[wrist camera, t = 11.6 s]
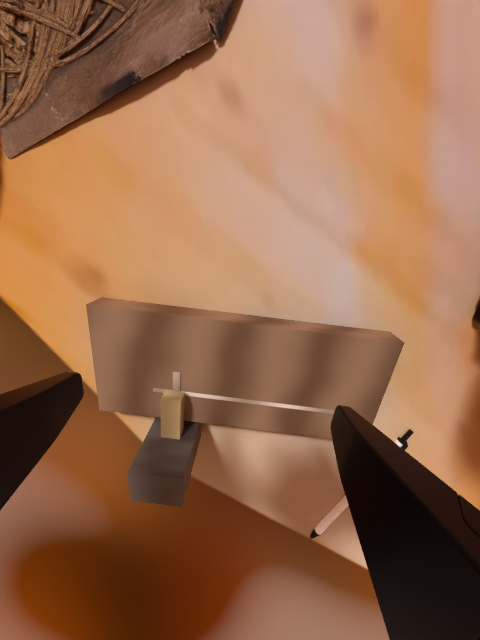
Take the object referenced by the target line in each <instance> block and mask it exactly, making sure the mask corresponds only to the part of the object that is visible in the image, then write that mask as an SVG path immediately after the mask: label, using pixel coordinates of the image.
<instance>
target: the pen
mask: <svg viewBox="0 0 480 640" xmlns="http://www.w3.org/2000/svg"><path fill="white" fill-rule="evenodd" d="M412 434H413V431H412V430H410V429H409V431H408V432H407V433H406V434H405V435H404V436H403V437H402V438H399V437H398V438H397V439H396V441H395V442H394V443H396V444H397V445H398V446H399V447H401V448H402V449H403V450H405V449H406V448H407V447H408V445H407V444H408V443H407V441H406V440H407V439H408V438H409V437H410V436H411V435H412ZM347 507H348V501H347V498H346V495H345V496H344V497H343V498H342V499H341V500H340V501H339V502H338V503H337V504H336V505H335V506H334V508H333V509H332V510H331V511H330V512H329V513H328V514H327V515H326V516H325V517H324V518H323V519H322V521H321V522H320V523H319V524H318V525H317V526H316V527H315V528H314V530H313V532H312V534H311V536H310V539H312V538H315V537H317V536H319V535H321V534H322V533H323V532H324V530H325V529H326V528H327V527H328V526H329V525H330V524H331V523H332V522H333V521H334V520H335V519H336V518H337V517H338V516H339V515H340V514H341V513H342V512H343V511H344V510H345V509H346V508H347Z"/></svg>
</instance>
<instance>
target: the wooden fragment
mask: <svg viewBox="0 0 480 640" xmlns="http://www.w3.org/2000/svg"><path fill="white" fill-rule="evenodd" d="M233 1H234V0H0V135H1V145H2V148H3V149H4V151H5V153H6V155H7V157H8V159H11V158H12V157H14V156H15V155H17V154H19V153H21V152H23V151H24V150H26V149H27V148H29V147H30V146H33V145H34V144H35V143H37V142H38V141H40V140H42V139H44V138H45V137H47V136H49V135H51V134H52V133H53V132H55V131H57V130H59V129H61V128H62V127H64V126H65V125H67V124H69V123H71V122H73V121H75V120H76V119H78V118H80V117H81V116H82V115H85V114H86V113H87V112H89V111H91V110H92V109H94V108H96V107H97V106H99V105H100V104H102V103H103V102H104V101H106V100H108V99H110V98H111V97H113V96H114V95H115V94H116V93H118V92H120V91H122V90H124V89H126V88H127V87H131V86H132V85H133V84H134V83H136V82H138V81H141V80H143V79H144V78H146V77H147V76H149V75H152V74H153V73H155V72H157V71H159V70H160V69H162V68H164V67H165V66H167V65H169V64H171V63H172V62H173V61H175V60H176V59H179V58H181V56H182V55H183V56H184V55H185V53H186V52H187V53H189V52H191V51H194V50H195V49H197V48H199V47H201V46H202V45H204V44H205V43H207V42H210V41H213V40H215V39H216V38H217V39H218V38H220V37H221V36H222V35H223V33H224V30H225V26H226V24H227V20H228V15H229V9H230V7H231V5H232V3H233ZM209 23H211V25H212V26H213V29H214V32H213V33H216V38H215V37H214V36H213V34H212V31H211V27H210V25H209Z"/></svg>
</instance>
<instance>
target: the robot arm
mask: <svg viewBox="0 0 480 640" xmlns="http://www.w3.org/2000/svg"><path fill="white" fill-rule="evenodd" d="M475 321H476V322H478V323H480V307H479V309H478V311H477V313H476V315H475ZM83 394H84V392H83V385H82V377H81V375H80V374H79V373H76V372H64V373H61V374H58V375H55V376H53V377H50V378H47V379H44V380H41V381H38V382H35V383H32V384H29V385H26V386H23V387H20V388H18V389H15V390H12V391H9V392H6V393H3V394H0V510H1V509H2V507H3V506H4V505H5V504H6V502H7V501H8V500H9V498H10V497H11V496H12V495H13V493H14V492H15V491H16V489H17V488H18V487H19V485H20V484H21V483H22V482H23V481H24V479H25V478H26V477H27V476H28V474H29V473H30V472H31V470H32V469H33V468H34V467H35V465H36V464H37V463H38V462H39V460H40V459H41V458H42V456H43V455H44V454H45V453H46V451H47V450H48V449H49V448H50V446H51V445H52V443H53V442H54V441H55V440H56V438H57V437H58V435H59V434H60V432H61V431H62V429H63V428H64V426H65V425H66V423H67V421H68V420H69V418H70V417H71V415H72V414H73V412H74V411H75V409H76V408H77V406H78V404H79V403H80V401H81V400H82V397H83ZM330 429H331V435H332V440H333V445H334V450H335V455H336V460H337V465H338V470H339V474H340V478H341V482H342V485H343V488H344V492H345V495H346V498H347V501H348V505H349V508H350V511H351V515H352V518H353V521H354V524H355V528H356V531H357V534H358V537H359V541H360V544H361V547H362V550H363V554H364V557H365V560H366V564H367V567H368V570H369V573H370V577H371V580H372V583H373V586H374V589H375V593H376V596H377V599H378V603H379V606H380V609H381V612H382V616H383V619H384V622H385V625H386V629H387V632H388V635H389V639H390V640H480V511H479V510H478V509H477V508H475V507H474V506H473V505H472V504H471V503H469V502H468V501H467V500H466V499H464V498H463V497H462V496H460V495H457V492H456V491H454V490H453V489H452V488H451V487H449V486H448V485H447V484H446V483H444V482H443V481H442V480H441V479H439V478H438V477H437V476H436V475H434V474H433V473H432V472H431V471H429V470H428V469H427V468H426V467H424V466H423V465H422V464H421V463H419V462H418V461H417V460H416V459H414V458H413V457H412V456H411V455H409V454H408V453H407V452H406V451H404V450H403V449H402V448H401V447H399V446H398V445H397V444H396V443H394V442H393V441H392V440H391V439H390V438H388V437H387V436H386V435H385V434H383V433H382V432H381V431H380V430H378V429H377V428H376V427H375V426H373V425H372V424H371V423H370V422H368V421H367V420H366V419H365V418H363V417H362V416H361V415H360V414H358V413H357V412H356V411H355V410H353V409H352V408H351V407H349V406H342V405H338V406H337V407H336V408H335V411H334V415H333V418H332V421H331V426H330Z"/></svg>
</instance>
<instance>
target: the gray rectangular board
mask: <svg viewBox="0 0 480 640" xmlns="http://www.w3.org/2000/svg"><path fill="white" fill-rule="evenodd" d="M86 307H87V315H88V323H89V331H90V339H91V347H92V355H93V363H94V371H95V379H96V387H97V395H98V403H99V410H104V411H111V412H119V413H127V414H135V415H143V416H151V417H159V418H161V404H160V399H161V398H162V396H163V394H164V392H165V390H170V391H178V392H185V401H184V421H191V422H199V423H207V424H215V425H223V426H231V427H239V428H247V429H255V430H263V431H271V432H279V433H287V434H295V435H303V436H311V437H319V438H327V439H332V435H331V429H330V426H331V421H332V418H333V415H334V411H335V408H336V407H337V406H338V405H342V406H349V407H351V408H352V409H353V410H355V411H356V412H357V413H358V414H360V415H361V416H362V417H363V418H365V419H366V420H367V421H368V422H370V423H371V424H373V422H374V419H375V417H376V414H377V412H378V409H379V406H380V404H381V401H382V399H383V396H384V394H385V391H386V388H387V386H388V383H389V381H390V378H391V376H392V373H393V371H394V368H395V365H396V363H397V360H398V358H399V355H400V353H401V350H402V347H403V345H404V342H402V341H401V340H400V339H398V338H397V337H396V336H395V335H393V334H392V333H391V332H385V331H376V330H368V329H360V328H351V327H343V326H335V325H326V324H318V323H309V322H301V321H293V320H284V319H276V318H268V317H259V316H251V315H243V314H234V313H226V312H218V311H209V310H201V309H193V308H184V307H176V306H168V305H159V304H151V303H142V302H134V301H126V300H117V299H109V298H100V299H98V300H95V301H93V302H91V303H89V304H87V305H86Z"/></svg>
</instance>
